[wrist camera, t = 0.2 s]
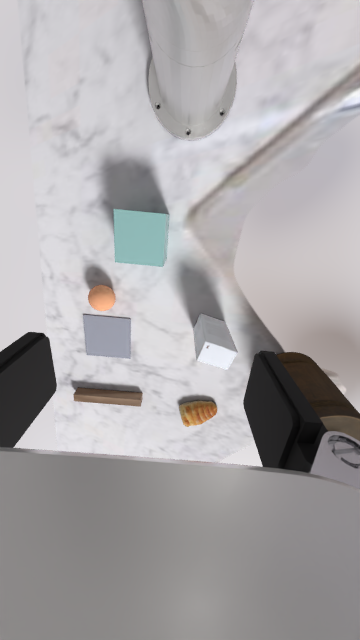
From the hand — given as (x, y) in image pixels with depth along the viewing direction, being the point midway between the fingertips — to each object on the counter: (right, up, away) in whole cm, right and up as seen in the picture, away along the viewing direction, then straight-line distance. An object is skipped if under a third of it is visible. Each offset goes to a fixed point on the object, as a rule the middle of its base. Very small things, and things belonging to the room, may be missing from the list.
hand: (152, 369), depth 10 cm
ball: (-14, +7, +34) cm, 37 cm away
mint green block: (-5, +18, +31) cm, 36 cm away
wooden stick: (-16, -16, +47) cm, 52 cm away
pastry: (+5, -20, +49) cm, 53 cm away
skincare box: (+8, +1, +39) cm, 40 cm away
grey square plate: (-15, -2, +40) cm, 43 cm away
